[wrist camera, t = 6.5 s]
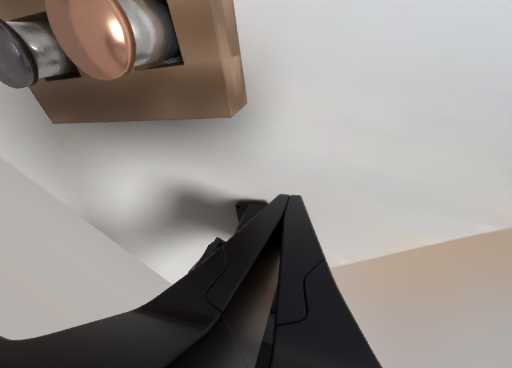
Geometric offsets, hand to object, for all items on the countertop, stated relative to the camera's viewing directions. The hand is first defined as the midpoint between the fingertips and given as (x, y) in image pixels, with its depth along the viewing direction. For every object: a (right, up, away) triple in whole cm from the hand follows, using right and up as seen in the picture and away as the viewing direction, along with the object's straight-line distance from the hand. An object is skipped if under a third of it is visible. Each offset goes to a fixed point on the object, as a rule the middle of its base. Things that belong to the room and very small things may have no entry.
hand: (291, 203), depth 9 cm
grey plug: (-17, +14, +11) cm, 25 cm away
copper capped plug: (-8, +12, +8) cm, 17 cm away
